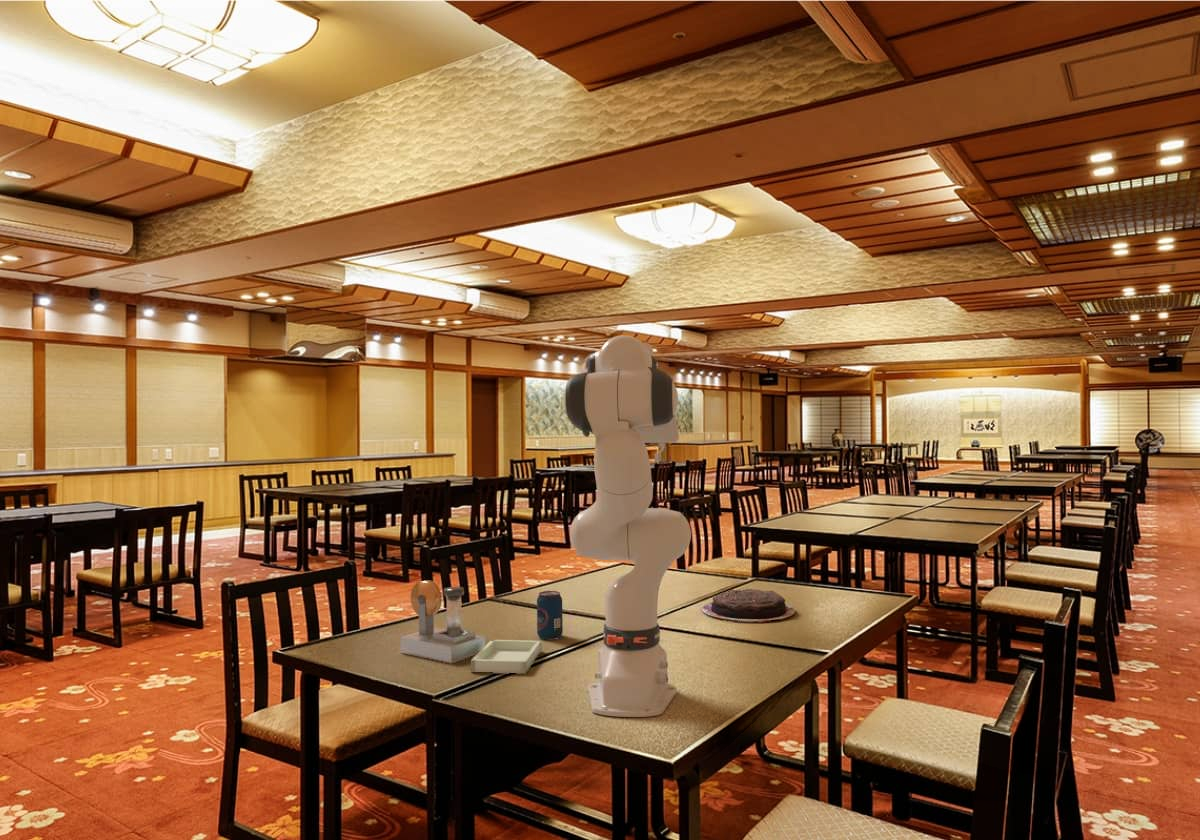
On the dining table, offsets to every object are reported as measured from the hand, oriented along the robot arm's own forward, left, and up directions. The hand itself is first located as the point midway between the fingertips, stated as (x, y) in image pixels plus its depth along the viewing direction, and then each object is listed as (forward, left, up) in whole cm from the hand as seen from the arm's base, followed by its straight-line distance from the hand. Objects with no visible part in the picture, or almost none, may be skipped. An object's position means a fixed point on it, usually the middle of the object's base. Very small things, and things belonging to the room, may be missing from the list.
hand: (639, 461), depth 197 cm
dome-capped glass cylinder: (-7, +47, -44) cm, 65 cm away
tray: (-12, +32, -48) cm, 59 cm away
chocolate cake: (+44, -29, -49) cm, 72 cm away
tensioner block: (-5, +51, -48) cm, 70 cm away
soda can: (+11, +26, -48) cm, 56 cm away
